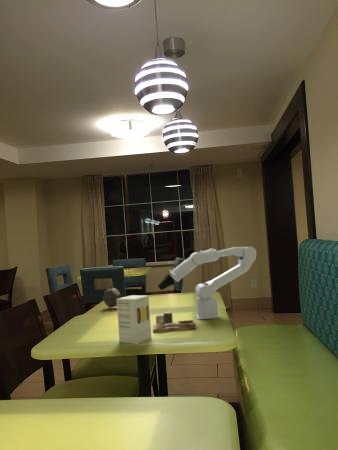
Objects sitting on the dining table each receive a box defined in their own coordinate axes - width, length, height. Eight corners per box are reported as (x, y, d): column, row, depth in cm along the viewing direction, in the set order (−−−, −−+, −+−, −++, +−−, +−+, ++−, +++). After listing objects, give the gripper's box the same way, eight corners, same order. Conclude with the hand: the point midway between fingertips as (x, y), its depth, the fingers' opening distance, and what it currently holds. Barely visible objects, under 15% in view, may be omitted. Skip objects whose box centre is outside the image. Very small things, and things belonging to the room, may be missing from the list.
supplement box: (137, 344, 135) (134, 299, 136) (118, 342, 140) (115, 298, 140) (152, 337, 143) (149, 295, 144) (133, 336, 148) (130, 294, 149)
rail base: (193, 324, 160) (192, 310, 160) (196, 328, 152) (194, 314, 152) (153, 328, 159) (152, 313, 159) (153, 332, 151) (152, 317, 151)
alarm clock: (122, 308, 214) (120, 280, 214) (116, 310, 209) (114, 281, 210) (108, 307, 219) (106, 280, 220) (102, 309, 215) (100, 281, 216)
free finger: (163, 322, 167) (163, 312, 168) (172, 322, 168) (171, 311, 168) (164, 324, 164) (163, 313, 164) (172, 323, 164) (172, 312, 164)
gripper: (175, 263, 179) (153, 281, 177) (178, 262, 164) (155, 281, 162) (184, 275, 178) (162, 292, 176) (188, 275, 164) (164, 293, 162)
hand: (159, 288), depth 169 cm, fingers open, 7 cm apart
